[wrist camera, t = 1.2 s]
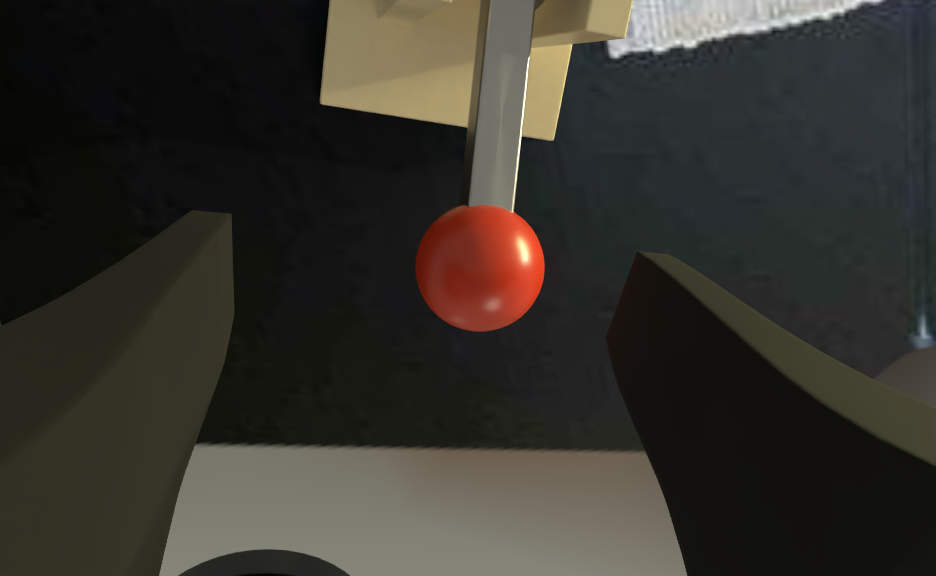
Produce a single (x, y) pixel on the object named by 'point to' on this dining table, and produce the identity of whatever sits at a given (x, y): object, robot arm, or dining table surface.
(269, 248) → the dining table surface
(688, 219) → the dining table surface
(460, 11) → the switch bracket
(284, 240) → the dining table surface
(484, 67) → the switch lever
